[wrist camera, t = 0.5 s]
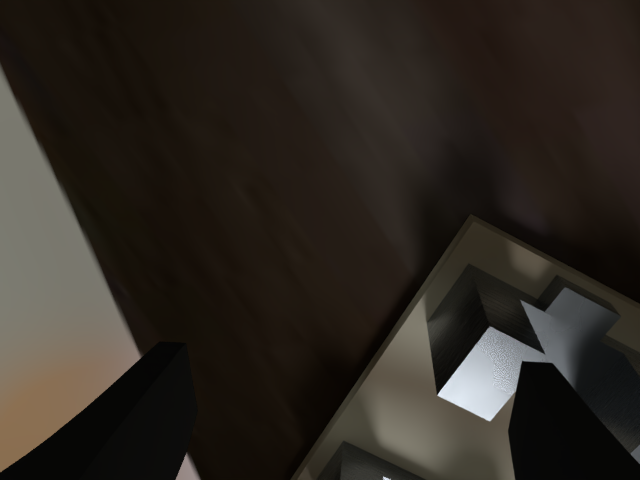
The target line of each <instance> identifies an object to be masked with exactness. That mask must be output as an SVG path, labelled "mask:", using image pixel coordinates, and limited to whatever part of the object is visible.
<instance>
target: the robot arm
mask: <svg viewBox="0 0 640 480" xmlns="http://www.w3.org/2000/svg"><path fill="white" fill-rule="evenodd" d="M197 411H198V410H197V404H196V398H195V392H194V386H193V381H192V375H191V369H190V363H189V357H188V352H187V346H186V343H176V342H159V343H157V344H156V345H155V346H154V347H153V348H152V349H151V350H150V351H148V352H147V353H146V354H145V355H144V356H143V357H142V358H141V359H140V360H139V361H137V362H136V363H135V364H134V365H133V366H132V367H131V368H130V369H129V370H128V371H127V372H125V373H124V374H123V375H122V376H121V377H120V378H119V379H118V380H117V381H116V382H114V383H113V384H112V385H111V386H110V387H109V388H108V389H107V390H106V391H104V392H103V393H102V394H101V395H100V396H99V397H98V398H96V399H95V400H94V401H93V402H92V403H91V404H90V405H88V406H87V407H86V408H85V409H84V410H83V411H81V412H80V413H79V414H78V415H76V416H75V417H74V418H73V419H72V420H70V421H69V422H68V423H67V424H65V425H64V426H63V427H62V428H60V429H59V430H58V431H57V432H56V433H54V434H53V435H52V436H51V437H49V438H48V439H47V440H45V441H44V442H43V443H41V444H40V445H39V446H37V447H36V448H35V449H33V450H32V451H30V452H29V453H28V454H27V455H25V456H23V457H22V458H21V459H19V460H18V461H16V462H15V463H13V464H12V465H10V466H9V467H8V468H6V469H5V470H3V471H2V472H0V480H175V479H176V477H177V475H178V472H179V470H180V467H181V465H182V462H183V460H184V457H185V455H186V452H187V448H188V445H189V441H190V438H191V434H192V430H193V427H194V423H195V419H196V415H197ZM508 436H509V443H510V450H511V457H512V463H513V470H514V476H515V480H640V464H639V463H638V462H637V461H636V459H635V458H634V457H633V456H632V455H631V454H630V453H629V452H628V451H627V450H626V449H625V448H624V446H623V445H622V444H621V443H620V442H619V441H618V440H617V439H616V437H615V436H614V435H613V434H612V433H611V432H610V431H609V430H608V429H607V427H606V426H605V425H604V424H603V423H602V422H601V420H600V419H599V418H598V417H597V416H596V415H595V413H594V412H593V411H592V410H591V409H590V408H589V406H588V405H587V404H586V403H585V402H584V400H583V399H582V398H581V397H580V395H579V394H578V393H577V392H576V391H575V389H574V388H573V387H572V386H571V384H570V383H569V382H568V381H567V380H566V378H565V377H564V376H563V375H562V373H561V372H560V371H559V370H558V368H557V367H556V366H555V365H554V364H553V363H550V362H531V361H522V363H521V368H520V373H519V378H518V383H517V388H516V393H515V398H514V403H513V408H512V413H511V418H510V423H509V428H508Z"/></svg>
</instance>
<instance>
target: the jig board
mask: <svg viewBox="0 0 640 480" xmlns="http://www.w3.org/2000/svg"><path fill="white" fill-rule="evenodd" d="M468 263H469V264H471V265H473V266H475V267H477V268H479V269H481V270H483V271H485V272H487V273H489V274H490V275H492V276H494V277H496V278H498V279H500V280H502V281H504V282H506V283H508V284H510V285H512V286H513V287H515V288H517V289H519V290H521V291H523V292H525V293H527V294H529V295H531V296H533V297H535V298H536V299H538V298H539V297H540V295H541V294H542V293H543V292H544V290H545V289H546V288H547V287H548V285H549V284H550V283H551V281H552V280H553V279H554V278H555V276H556V275H559V276H561V277H563V278H564V279H566V280H568V281H570V282H572V283H574V284H576V285H578V286H580V287H582V288H583V289H585V290H587V291H589V292H591V293H593V294H595V295H597V296H599V297H600V298H602V299H604V300H606V301H608V302H610V303H611V304H612V305H613V306H614V308H615V309H616V310H617V312H618V313H619V314H620V316H621V317H620V319H619V320H618V321H617V322H616V323H615V324H614V325H613V327H612V328H611V329H610V330H609V331H608V332H607V333H606V335H607V336H609V337H611V338H613V339H615V340H617V341H619V342H621V343H623V344H625V345H626V346H628V347H630V348H632V349H634V350H636V351H638V352H640V304H639V303H637V302H635V301H634V300H632V299H630V298H628V297H626V296H624V295H622V294H620V293H618V292H617V291H615V290H613V289H611V288H609V287H607V286H605V285H603V284H602V283H600V282H598V281H596V280H594V279H592V278H590V277H588V276H587V275H585V274H583V273H581V272H579V271H577V270H575V269H573V268H571V267H570V266H568V265H566V264H564V263H562V262H560V261H558V260H556V259H555V258H553V257H551V256H549V255H547V254H545V253H543V252H541V251H540V250H538V249H536V248H534V247H532V246H530V245H528V244H526V243H525V242H523V241H521V240H519V239H517V238H515V237H513V236H511V235H509V234H508V233H506V232H504V231H502V230H500V229H498V228H496V227H494V226H493V225H491V224H489V223H487V222H485V221H483V220H481V219H479V218H478V217H476V216H474V215H472V214H470V215H469V217H468V218H467V220H466V221H465V223H464V224H463V226H462V227H461V229H460V230H459V232H458V233H457V234H456V236H455V237H454V239H453V240H452V242H451V243H450V245H449V246H448V248H447V249H446V251H445V252H444V254H443V255H442V257H441V258H440V260H439V261H438V263H437V264H436V265H435V267H434V268H433V270H432V271H431V273H430V274H429V276H428V277H427V279H426V280H425V282H424V283H423V285H422V286H421V288H420V289H419V291H418V292H417V293H416V295H415V296H414V298H413V299H412V301H411V302H410V304H409V305H408V307H407V308H406V310H405V311H404V313H403V314H402V316H401V317H400V319H399V320H398V322H397V323H396V324H395V326H394V327H393V329H392V330H391V332H390V333H389V335H388V336H387V338H386V339H385V341H384V342H383V344H382V345H381V347H380V348H379V350H378V351H377V352H376V354H375V355H374V357H373V358H372V360H371V361H370V363H369V364H368V366H367V367H366V369H365V370H364V372H363V373H362V375H361V376H360V378H359V379H358V381H357V382H356V383H355V385H354V386H353V388H352V389H351V391H350V392H349V394H348V395H347V397H346V398H345V400H344V401H343V403H342V404H341V406H340V407H339V409H338V410H337V411H336V413H335V414H334V416H333V417H332V419H331V420H330V422H329V423H328V425H327V426H326V428H325V429H324V431H323V432H322V434H321V435H320V437H319V438H318V440H317V441H316V442H315V444H314V445H313V447H312V448H311V450H310V451H309V453H308V454H307V456H306V457H305V459H304V460H303V462H302V463H301V465H300V466H299V468H298V469H297V470H296V472H295V473H294V475H293V476H292V478H291V479H290V480H316V479H317V477H318V476H319V474H320V473H321V472H322V470H323V469H324V467H325V466H326V465H327V463H328V462H329V460H330V459H331V457H332V456H333V455H334V453H335V452H336V450H337V449H338V448H339V446H340V445H341V443H342V442H343V440H344V441H346V442H348V443H350V444H352V445H354V446H356V447H359V448H361V449H363V450H365V451H367V452H369V453H371V454H373V455H375V456H378V457H380V458H382V459H384V460H386V461H388V462H390V463H392V464H394V465H397V466H399V467H401V468H403V469H405V470H407V471H409V472H411V473H413V474H415V475H418V476H420V477H422V478H424V479H426V480H515V476H514V470H513V463H512V457H511V450H510V443H509V436H508V428H509V423H510V418H511V413H512V408H513V403H514V398H515V393H516V391H515V392H514V394H513V395H512V396H511V397H510V398H509V400H508V401H507V402H506V403H505V404H504V406H503V407H502V408H501V409H500V410H499V411H498V413H497V414H496V415H495V416H494V417H493V419H492V420H491V421H488V420H486V419H484V418H482V417H480V416H478V415H476V414H474V413H472V412H470V411H468V410H466V409H464V408H462V407H460V406H458V405H455V404H453V403H451V402H449V401H447V400H445V399H443V398H441V397H439V396H437V392H436V385H435V378H434V371H433V364H432V357H431V350H430V343H429V336H428V329H427V321H428V320H429V319H430V317H431V316H432V314H433V313H434V311H435V310H436V309H437V307H438V306H439V304H440V303H441V302H442V300H443V299H444V297H445V296H446V294H447V293H448V292H449V290H450V289H451V287H452V286H453V285H454V283H455V282H456V280H457V279H458V277H459V276H460V275H461V273H462V272H463V270H464V269H465V267H466V266H467V265H468Z"/></svg>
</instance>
